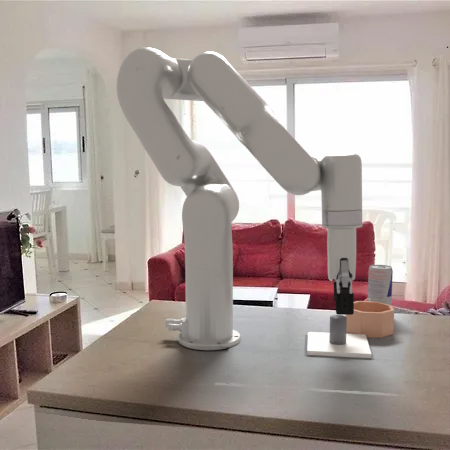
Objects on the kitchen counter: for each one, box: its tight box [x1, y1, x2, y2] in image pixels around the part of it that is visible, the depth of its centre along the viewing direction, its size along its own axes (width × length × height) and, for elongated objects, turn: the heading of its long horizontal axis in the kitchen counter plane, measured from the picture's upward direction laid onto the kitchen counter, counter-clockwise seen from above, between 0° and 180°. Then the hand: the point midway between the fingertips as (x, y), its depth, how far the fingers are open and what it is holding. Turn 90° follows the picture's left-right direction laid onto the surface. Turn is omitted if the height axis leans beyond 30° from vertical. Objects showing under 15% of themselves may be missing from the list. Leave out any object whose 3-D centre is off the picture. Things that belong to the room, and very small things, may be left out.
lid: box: [307, 314, 371, 358], centre depth 107 cm, size 12×12×6 cm
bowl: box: [345, 300, 395, 339], centre depth 118 cm, size 10×10×6 cm
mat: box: [304, 334, 375, 361], centre depth 108 cm, size 13×13×1 cm
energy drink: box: [367, 264, 394, 306], centre depth 129 cm, size 5×5×12 cm
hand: (343, 307), depth 107 cm, fingers open, 9 cm apart
